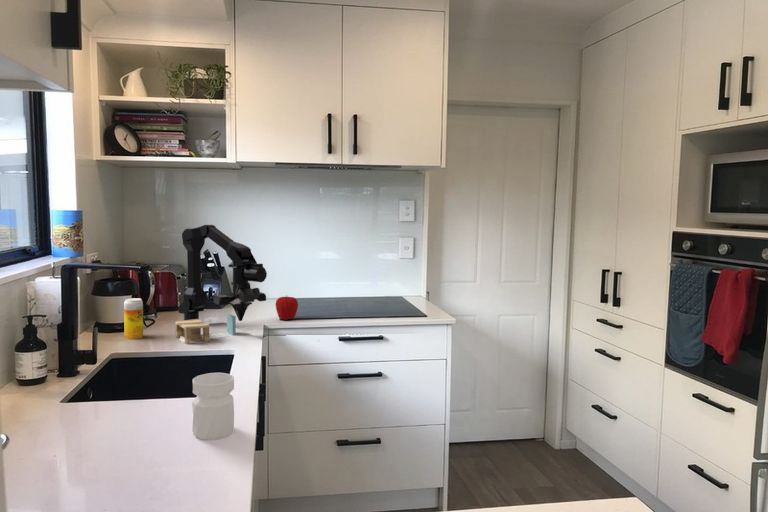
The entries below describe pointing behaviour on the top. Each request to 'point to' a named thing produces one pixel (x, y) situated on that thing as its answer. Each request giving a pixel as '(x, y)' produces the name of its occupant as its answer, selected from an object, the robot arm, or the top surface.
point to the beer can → (133, 318)
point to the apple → (286, 307)
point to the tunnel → (188, 326)
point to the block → (195, 334)
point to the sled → (230, 332)
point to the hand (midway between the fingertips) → (240, 320)
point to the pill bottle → (213, 406)
